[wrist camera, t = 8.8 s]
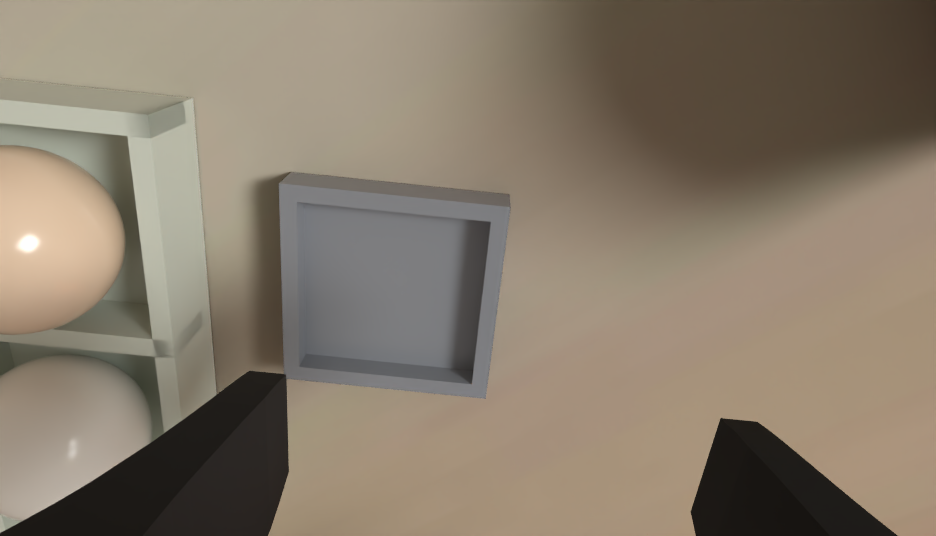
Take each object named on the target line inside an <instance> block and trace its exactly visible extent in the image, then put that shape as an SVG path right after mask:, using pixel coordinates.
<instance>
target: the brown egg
mask: <svg viewBox="0 0 936 536" xmlns="http://www.w3.org/2000/svg"><path fill="white" fill-rule="evenodd" d="M124 254H125V230H124V225H123V221H122V218H121V215H120V213H119V210H118V208H117V206H116V204H115V202H114V200H113V199H112V197H111V196H110V194H109V193H108V191H107V190H106V189H105V188H104V186H103V185H102V184H101V183H100V182H99V181H98V180H97V179H96V178H95V177H93V176H92V175H91V174H90V173H89V172H87V171H86V170H85V169H83V168H82V167H80V166H79V165H77V164H76V163H74V162H72V161H70V160H68V159H67V158H64V157H62V156H59V155H57V154H54V153H52V152H49V151H45V150H42V149H38V148H32V147H26V146H19V145H0V334H3V335H19V334H31V333H37V332H42V331H46V330H50V329H53V328H56V327H59V326H62V325H64V324H66V323H69V322H71V321H73V320H75V319H76V318H78V317H80V316H82V315H83V314H85V313H86V312H87V311H89V310H90V309H91V308H93V307H94V306H95V305H96V304H97V303H98V302H99V301H100V300H101V299H102V298H103V297H104V296H105V295H106V294H107V293H108V291H109V290H110V288H111V287H112V285H113V283H114V282H115V280H116V279H117V276H118V274H119V272H120V269H121V266H122V263H123V259H124Z"/></svg>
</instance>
